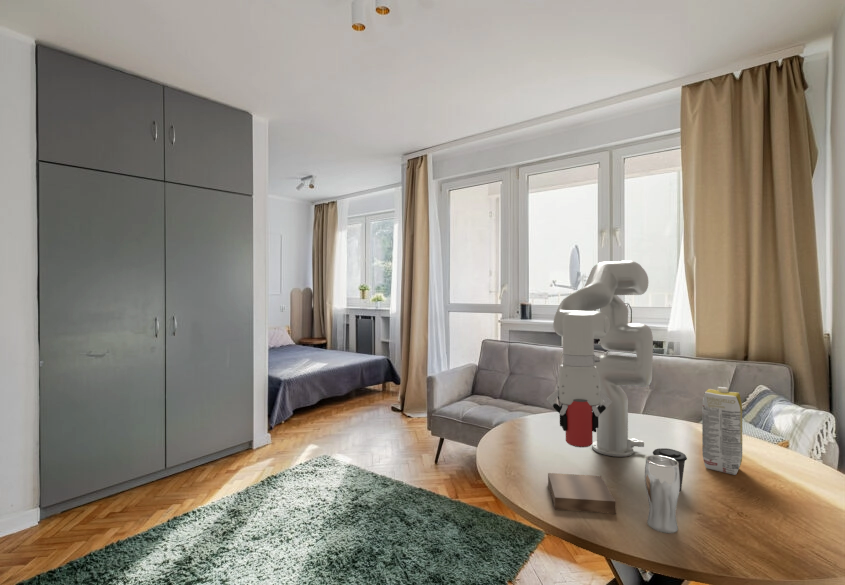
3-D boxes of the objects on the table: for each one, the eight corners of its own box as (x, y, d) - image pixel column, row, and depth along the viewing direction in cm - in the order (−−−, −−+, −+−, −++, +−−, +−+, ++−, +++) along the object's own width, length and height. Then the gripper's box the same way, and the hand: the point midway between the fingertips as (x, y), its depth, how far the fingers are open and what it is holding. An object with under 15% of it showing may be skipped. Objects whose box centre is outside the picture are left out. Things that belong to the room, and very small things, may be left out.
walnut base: (601, 486, 117) (601, 475, 117) (615, 513, 103) (615, 501, 103) (548, 483, 119) (548, 472, 119) (555, 509, 106) (555, 497, 106)
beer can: (594, 449, 107) (594, 401, 107) (567, 447, 109) (566, 400, 108) (590, 439, 114) (589, 394, 114) (564, 438, 115) (563, 393, 115)
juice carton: (743, 468, 127) (743, 388, 127) (739, 477, 122) (739, 393, 121) (706, 460, 134) (705, 383, 133) (700, 468, 128) (700, 388, 128)
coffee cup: (675, 497, 111) (675, 459, 111) (646, 485, 118) (645, 448, 118) (694, 490, 114) (693, 453, 114) (664, 478, 122) (664, 443, 121)
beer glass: (638, 518, 101) (638, 455, 101) (666, 516, 102) (666, 453, 101) (657, 535, 94) (657, 467, 94) (687, 533, 95) (687, 466, 95)
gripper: (610, 358, 113) (610, 426, 113) (542, 357, 116) (542, 423, 116) (618, 364, 106) (618, 436, 106) (545, 362, 109) (545, 433, 109)
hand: (578, 429), depth 111 cm, fingers closed on beer can, 6 cm apart
